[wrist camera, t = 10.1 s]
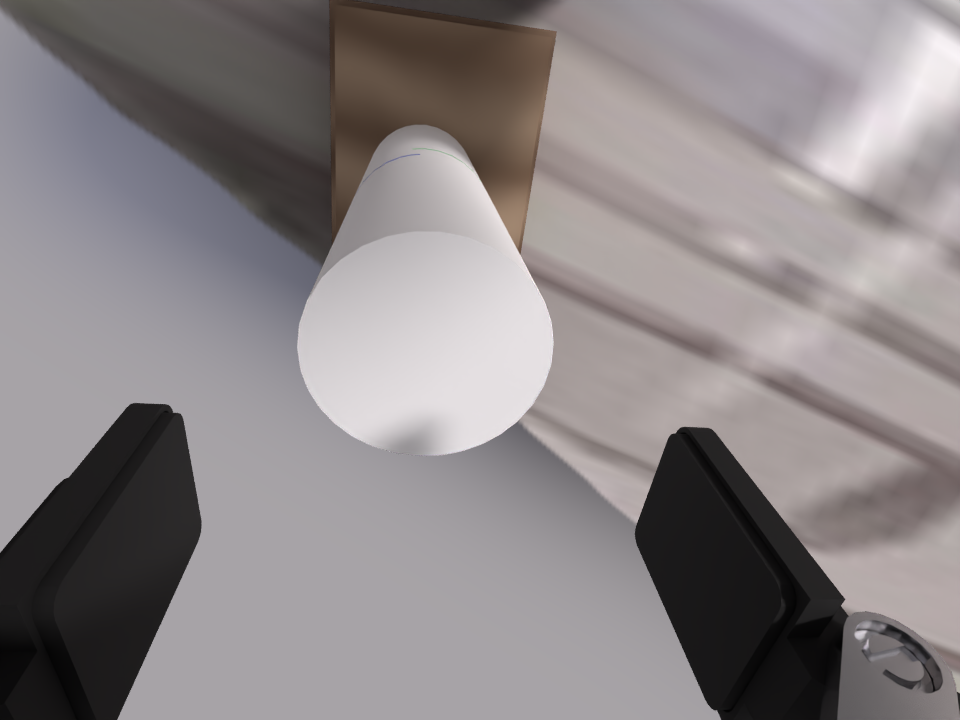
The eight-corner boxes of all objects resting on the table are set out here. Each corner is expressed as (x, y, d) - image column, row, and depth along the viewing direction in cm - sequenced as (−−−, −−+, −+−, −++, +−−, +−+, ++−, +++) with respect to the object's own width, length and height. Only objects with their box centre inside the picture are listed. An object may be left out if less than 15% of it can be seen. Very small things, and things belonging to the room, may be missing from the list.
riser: (340, 4, 36) (327, -5, 31) (540, 34, 38) (559, 30, 33) (340, 235, 44) (330, 259, 39) (507, 250, 46) (519, 274, 41)
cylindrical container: (353, 141, 35) (250, 274, 13) (458, 111, 35) (526, 197, 13) (388, 243, 39) (353, 480, 17) (484, 217, 38) (571, 421, 17)
